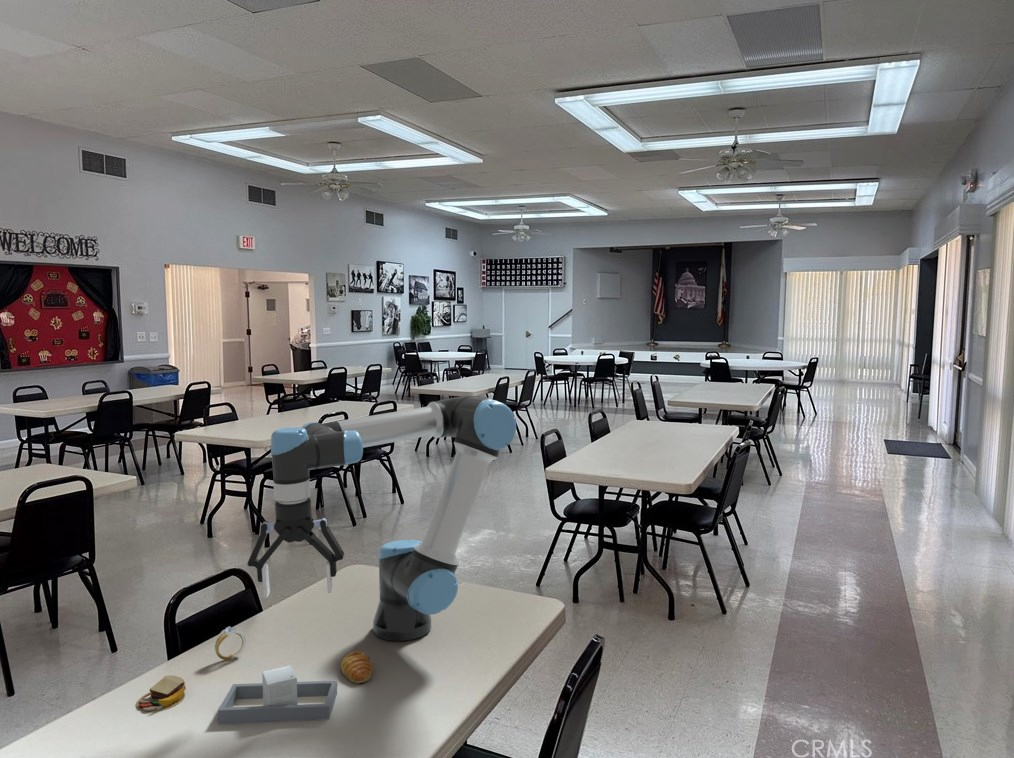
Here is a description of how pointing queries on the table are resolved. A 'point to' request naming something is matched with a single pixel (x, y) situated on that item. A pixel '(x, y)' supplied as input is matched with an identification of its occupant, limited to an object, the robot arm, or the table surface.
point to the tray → (249, 706)
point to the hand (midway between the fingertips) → (298, 593)
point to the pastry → (357, 667)
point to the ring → (227, 632)
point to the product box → (279, 687)
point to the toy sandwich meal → (163, 694)
